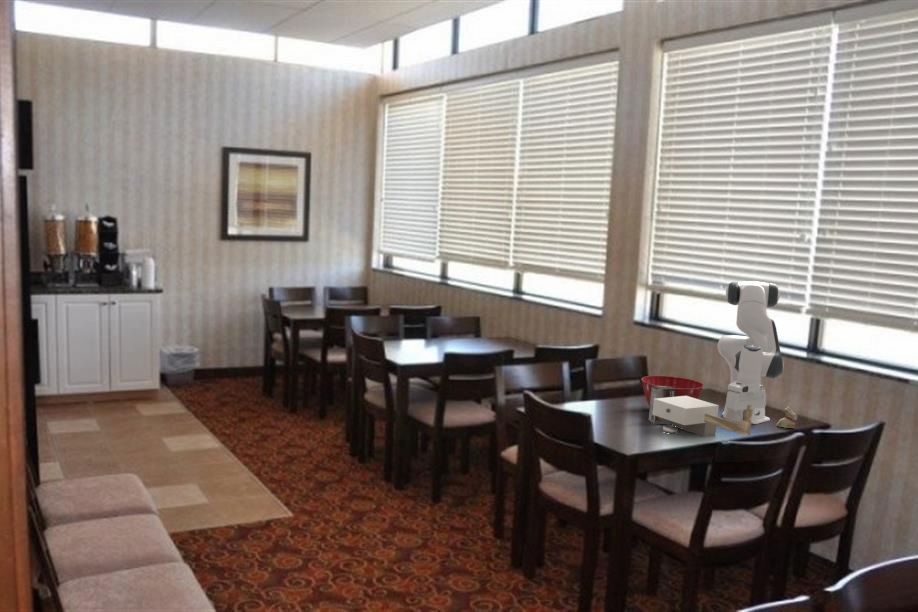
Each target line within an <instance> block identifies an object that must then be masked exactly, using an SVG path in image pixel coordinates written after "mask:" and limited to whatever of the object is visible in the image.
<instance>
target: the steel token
mask: <svg viewBox="0 0 918 612" xmlns="http://www.w3.org/2000/svg"><path fill="white" fill-rule="evenodd" d="M663 432H665V433H664V434H666V433H669V434H668V435H677V434H678V427H675V426H672V425H671V424H663V426H662V433H663Z"/></svg>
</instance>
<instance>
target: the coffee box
mask: <svg viewBox="0 0 918 612" xmlns="http://www.w3.org/2000/svg"><path fill="white" fill-rule="evenodd" d="M675 395H676V389H675V388H673V387H670V386H652V388H651V400H650V406H649V412H648V413H649V415H648V421H649V420H650V421H651V423H652V422H653V423H652V424H654V423H655V424H654V425H672V423H673V421H670V420H667V419H664V418H661V417H658V416H655V415H652V414H653V403H654V399H656V398H667V397H675ZM650 421H649V422H650Z"/></svg>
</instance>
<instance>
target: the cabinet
mask: <svg viewBox="0 0 918 612" xmlns="http://www.w3.org/2000/svg"><path fill="white" fill-rule="evenodd" d="M719 406H720V405H718V404H717V403H716V404H715V403H712V402H710V401H709V402H708V401H705V400H701V399H700V398H698V399H696V398H692V397H689V396H678V397H667V398H656V399H654V403H653V414H652V415H655V416H658V417H661V418H664V419H667V420H670V421H673V423H672V424H671V426H672V425H673V426H676V427H677V428H678V427H679V429H681V428H682V429H681V430H683V431H686V432H688V433H689V432H690V433H693V434H695V435H698V436H701V437H710V436H716V433H717V426H715V425H712V424H709V423H706V422H704V415H705V414H706V413H707V414H710V415H713V416H717V417H719V415H718V414H719Z"/></svg>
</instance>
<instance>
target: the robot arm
mask: <svg viewBox="0 0 918 612" xmlns="http://www.w3.org/2000/svg"><path fill="white" fill-rule="evenodd" d="M780 296H781V292H780V289H779V286H778V285H777V284H775V283H772V282H769V283H768V282H763V281H756V280H755V281H736V280H735V281H731V282H729V284H728V286H727V287H726V289H725V297H726V301H727V303H728V304H730V305H733V306H737V310H736V312H737V313H736V323H735V324H736V326H737V328H738V329H739V331H740V332H742V333H743V334H745V336H744V335H737V334H736V335H735V334H730V335H729V334H728V335H722V336H721V337H720V339H718V343H717V351H718V353H719V355H720V356H722V357H723V358H724V359H725V361H726V362H727V364H728V367H729V369H730V380H729V381H730V383H729V384H727V393H726V400H725V405H724V411H723V412H722V413H721V415H722V418H723V419H727V420H730V421H733V422H737V423H738V420H739V421H744V416H743V414H742V413H743V411H744V410H747V407H748V405H753V411H752V420H751V425H752V424H753V425H758V424H760V423H765V422H769V421H771V419H770V417H768V416H766V405H767V393H766V387H765V386H764V384H761V383H762V377H765V378H769V379H776V378H777V377H780V375H782V374H783V372H784V366H785V365H784V364H785V363H784V359H783V356H782V352H781V347H780V343H779V342H780V341H779V336H778V330H777V327H776V323H775V321H774V320H773V319H772V318H771V317H770V316H769V315H768V311H767V308H773V307H775V306H776V305H777V304H778V303H779V301H780Z"/></svg>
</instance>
